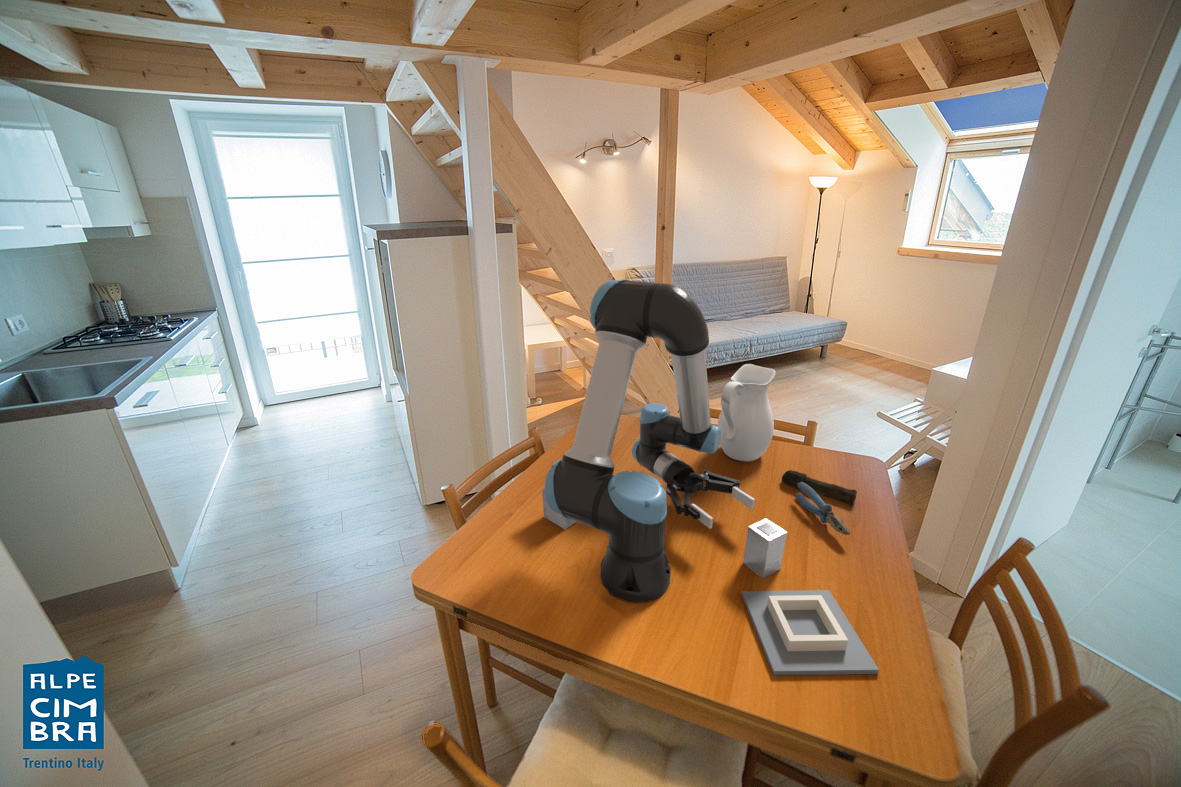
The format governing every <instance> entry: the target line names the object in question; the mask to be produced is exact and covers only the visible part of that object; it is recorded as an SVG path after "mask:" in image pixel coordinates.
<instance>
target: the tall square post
mask: <svg viewBox="0 0 1181 787" xmlns="http://www.w3.org/2000/svg"><path fill="white" fill-rule="evenodd" d="M787 535H788V532H787V531H786V530H785V529H783V528H782V527H781V526H779V525H777V524H775V523H774V522H773V521H771V520H769V519H768V518H763V519H761V520H759V521H757V522H754V523H752V524H751V525H748V527H747V533H746V541H745V547H744V553H743V555H744V556H743V560H742V563H743V564H744V565H745V567H747V568H749V569H750V570H751V571H752V572H753V573H755V574H756V575H758V576H759V577H760V578H761V579H765V578H767V577H769V576H770V575H772V574H774V573H776V572H778V571H780V570H781V568H782V563H783V562H782V561H783V556H784V553H785V552H784V550H785V545H786V539H787Z"/></svg>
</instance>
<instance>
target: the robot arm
mask: <svg viewBox="0 0 1181 787" xmlns="http://www.w3.org/2000/svg"><path fill="white" fill-rule="evenodd" d="M589 314H590V316H589V320H590V324H591V325H592V326H593V328H595V330H594V335H595V337H596V340H597V341H598V347H597V349H596V354H595V358H594V361H593V367H592V369H591V373H590V377H589V381H588V385H587V388H586V389H587V390H586V393H585V396H584V397H585V398H584V401H583V404H582V405H583V406H582V407H581V408H582V409H581V413H580V416H579V420H578V425H577V428H576V431H575V432H576V433H575V435H574V440H573V444H572V447H571V448H569V449H568V450H567V449H566V451H564V452H563V455H562V458H561V459H558V460H556V461H554V462H553V464H552V465H551V468H549V469H548V471H547V474H546V476H545V477H546V478H545V481H544V487H543V489H544V491H545V499H546V501H547V503H548V506H549V507H550V509H551V510H553V511H554V512H556V513H558V514H560V515H562V516H563V517H565V518H568V519H572V520H575V521H576V522H578V523H581V524H583V525H586V526H588V527H591V528H594V529H597V530H599V531H602V532H604V533H607V534H608V545H607V548H606V551H605V553H604V555H603V557H602V560H601V562H600V568H599V569H600V570H599V572H600V576H599V577H600V582H601V584H602V585H603V587H604V588H605V590H606V591H607V592H608V593H609V594H611V595H612V596H614V597H615V598H618V599H620V600H622V601H626V602H628V603H629V602H632V603H645V602H646V603H647V602H650V601H651V602H652V601H653V600H655V599H656V600H657V599H658V598H660V597H661V596H662V595H664V594H665V593H666V591H667V590H668V588H669V587H670V583H671V573H672V572H671V566H670V562H669V560H668V557H667V553H666V550H665V539H666V524H667V523H666V521H667V513H668V501H667V495H668V497H670V499H671V502H672V505H673V507H674V510H675V512H676V515H678V516H681V515H682V514H683V516H684V517H687V518H688V517H689V516H691V518H692V519H694V520H697V521H699V522H700V523H702V525H704V526H705V527H707V528H708V529H709V530H711V529H713V521H714V517H712V516H711V515H710V514H708V512H706V511H704V509H702V508H701V507H699V506H698V505H696V504H695V503H691V500H690V499H691V496H690V495H691V494H692V495H694V494H696V493H698V492H702V491H704V492H708V491H712V492H713V491H714V492H719V493H724V494H725V493H726V494H731V497H732V498H734V499H736V501H738V502H739V503H741V504H743V506H745V507H747V508H749V509H750V510H754V508H755V502H756V499H755V498H754V497H753V496H751V495H749V494H748V493H747V492H746V491H745V490H743V489H742V488H740V484H741V481H740V480H738V479H735V478H731V477H728V476H724V475H721V474H717V473H714V472H711V471H710V470H708V469H703V473H701V474H700V473H696V472H695V471H694V469H693V467H692V466H691V465H690V464H688V463H687V462H685V461H683V460H681V458H679V457H677V456H676V455H674V454H673V453H671V452H669V451H668V450H667V444H670V445H674V446H678V447H682V448H684V449H689V450H691V451H697V452H699V453H706V454H711V455H713V454H714V453H716V452H717V450H718V449H719V446H720V440H721V429H720V428H719V427H718V426H717V425H714V424H712V422H711V421H712V420H711V411H710V410H711V408H710V396H709V385H708V372H707V361H706V360H707V358H706V349H708V346H709V344H710V335H709V328H708V324H707V321H706V318H705V317H704V313H703V312H702V310H701V309H700V308H699V306H698V304H697V303H696V301H695V300H694V299H693V298H692V297H691V296H690V294H688V292H686V291H685V290H683V289H682V288H680V287H679V286H676V285H674V284H671V283H665V282H664V283H659V282H649V281H638V280H628V279H620V280H619V279H611V280H608V281H606V282H605V283H603V284H602V283H601V285H600V286H599V287H598V289H597V290H596V291H595V293H594V295H593V297H592V299H591V303H590V307H589ZM648 338H653V339H654V338H655V339H657V338H658V339H659V340H661V341H663V343H664V347H665V350H666V352H668V353H669V354H670V357H671V364H672V369H673V370H672V371H673V377H674V386H675V389H676V390H675V391H676V397H677V403H678V410H679V416H675V415H670V414H669V409H668V407H667V406H666V405H664V404H663V403H659V402H652V403H651V402H650V403H647V404H645V405H643V406H642V407H641V409H640V418H639V439H637V440H636V441H635V442H634V444H633V447H632V448H631V456H632V458H633V459H634V460H635V461H636V462H637V463H639V465H640V466H641V467H644V468H645V469H646V470H648V471H649V472H650V473H652V474H653V475H654V476H656V477H657V478H659V479H660V480H661V481H662V482H663V483H665V484H666V489H664V486H663V485H662V483H661V482H660V481H659V480H658V479H657V478H655V477H653V475H650V474H648V473H645V472H642V471H638V470H631V471H629V470H624V471H623V470H622V471H619V472H616V473H615V474H614V471H615V468H616V467H615V466H616V465H615V464H614V462H613V460H612V458H611V454H612V451H613V448H614V442H615V439H616V435H617V430H618V426H619V423H620V420H621V415H622V412H623V411H622V410H623V407H624V404H625V399H626V395H627V393H628V392H627V391H628V387H629V383H630V379H631V376H632V372H633V366H634V363H635V361H636V356H637V352H639V351H640V350H642V349H644V348H646V343H647V339H648ZM613 474H614V475H613ZM704 482H705V484H704ZM678 492H681V493H683V504H682V501H681V499H680V497H679V494H678Z"/></svg>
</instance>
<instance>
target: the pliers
mask: <svg viewBox="0 0 1181 787" xmlns="http://www.w3.org/2000/svg"><path fill="white" fill-rule="evenodd" d="M797 486H798V488H799V489H798V490H800V489H801V491H802V492H804V493H805V494H806V495H807V496H808V497H809V498H810V500H811V501H812V502H813V503H814V504H813V503H812V502H811V501H809V500H808V499H807V498H806V497H805V496H804V495H803V494H802V493H801V492H797V493H795V494H794V497H795V499H796V500H797V501H798V503H799V504H800V505H801V506H802V507H803V508H804V509H806V510H807V511H809V512H811V513H813V514H814V515H815V516H818V517H819V520H820V522H821V523H822V524H824V525H826V524H829V525H830V527H831V528H832V529H834V531H836V532H837V533H840V534H842V535H845V536H849V535H851V531H850V530H849V528H848V527H847V525H846V524H845V523H844V521H843V519H841V518H840V517H839V516H838V515H836V514H835V513H834V512H833V508H832V505H831V504H830V503H827V504H826V503H825V501H824V500H823V499H822V498H821V497H820V495H819V493H816V492H815V491H814V490H813V489H812V488H811V487H810V486H809V485H807V484H805V483H803V482H800V483H798V484H797Z"/></svg>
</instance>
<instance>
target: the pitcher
mask: <svg viewBox="0 0 1181 787" xmlns="http://www.w3.org/2000/svg"><path fill="white" fill-rule="evenodd" d="M776 374H777V373H776V369H774V368H769V367H763V366H759V365H755V364H752V363H746V364H743V365H742V366H741V367H740V368H738V369H737V371H735V373H734V374H733V375H732V376H731V377H730V380H731V381H729V382H727V383H726V384H725V385H724V387H723V389H722V391H721V398H720V404H721V410H720V413H719V416H718V418H717V425H716V426H718V427H719V428H720V429H721V440H720V444H719V446H720V448H721V449H722V451H723V453H724V454H725V455H726V456H727V457H728V458H730V459H733V460H735V461H740V462H754V461H756V460H758V459H759V458H760V457H761V456H763V455H764V453H765V452H766V451H767V450H768V449H769V447H770V444H771V442H772V440H773V436H774V429H775V424H774V415H773V412H772V407H771V405H770V401H769V395H768V394H769V387H770V384H771V383H772V381H773V380H774V379H775V377H776Z"/></svg>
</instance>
